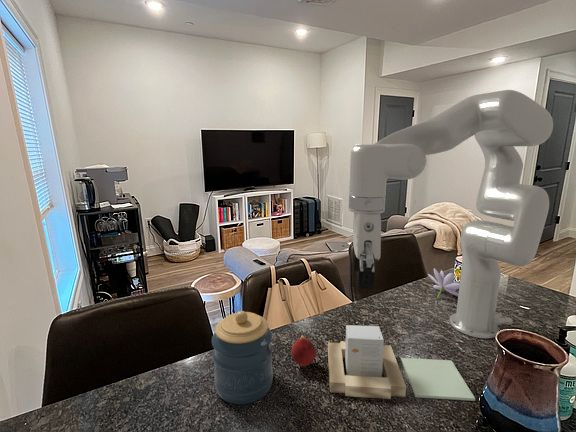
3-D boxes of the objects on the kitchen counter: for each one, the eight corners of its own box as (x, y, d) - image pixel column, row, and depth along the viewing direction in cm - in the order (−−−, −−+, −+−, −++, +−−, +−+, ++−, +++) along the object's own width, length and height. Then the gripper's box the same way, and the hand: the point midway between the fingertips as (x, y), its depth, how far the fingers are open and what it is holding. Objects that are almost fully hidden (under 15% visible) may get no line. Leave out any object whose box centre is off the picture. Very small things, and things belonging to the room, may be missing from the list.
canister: (249, 356, 80) (247, 292, 76) (285, 383, 71) (284, 311, 67) (203, 383, 71) (198, 312, 67) (237, 417, 62) (233, 337, 58)
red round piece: (317, 360, 78) (318, 331, 77) (312, 376, 73) (312, 345, 71) (295, 355, 80) (295, 327, 78) (288, 370, 75) (288, 340, 73)
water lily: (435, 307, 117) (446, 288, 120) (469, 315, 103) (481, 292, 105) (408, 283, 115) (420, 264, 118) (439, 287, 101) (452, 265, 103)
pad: (451, 362, 77) (451, 360, 77) (475, 400, 65) (475, 398, 65) (400, 359, 78) (400, 357, 78) (415, 397, 67) (415, 394, 66)
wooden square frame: (389, 352, 81) (390, 343, 81) (406, 399, 66) (407, 389, 65) (327, 349, 83) (328, 340, 82) (330, 395, 67) (330, 384, 67)
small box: (377, 364, 77) (380, 325, 74) (382, 381, 71) (384, 339, 69) (344, 362, 77) (345, 324, 75) (346, 379, 72) (347, 337, 70)
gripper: (393, 212, 58) (387, 297, 62) (377, 198, 75) (374, 265, 79) (352, 211, 59) (348, 295, 63) (346, 197, 76) (343, 264, 79)
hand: (362, 279), depth 71 cm, fingers open, 9 cm apart
